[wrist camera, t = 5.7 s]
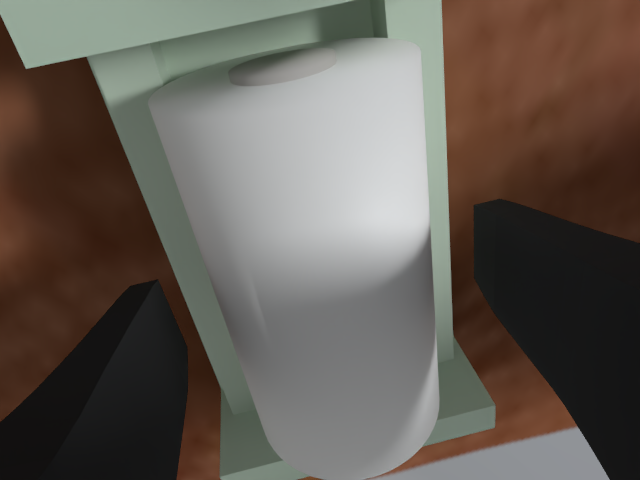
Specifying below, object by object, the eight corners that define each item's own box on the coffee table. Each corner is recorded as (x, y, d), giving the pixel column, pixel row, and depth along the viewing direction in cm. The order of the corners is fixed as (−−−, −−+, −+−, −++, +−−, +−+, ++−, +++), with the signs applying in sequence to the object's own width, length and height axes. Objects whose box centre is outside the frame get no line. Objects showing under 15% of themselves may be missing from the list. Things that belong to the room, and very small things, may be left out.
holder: (69, -12, 10) (-8, -1, 7) (422, -83, 11) (511, -105, 7) (229, 391, 17) (229, 497, 14) (443, 337, 18) (494, 427, 14)
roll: (155, 67, 11) (128, 131, 6) (369, 21, 11) (475, 52, 7) (254, 363, 15) (275, 512, 11) (400, 321, 16) (474, 448, 12)
